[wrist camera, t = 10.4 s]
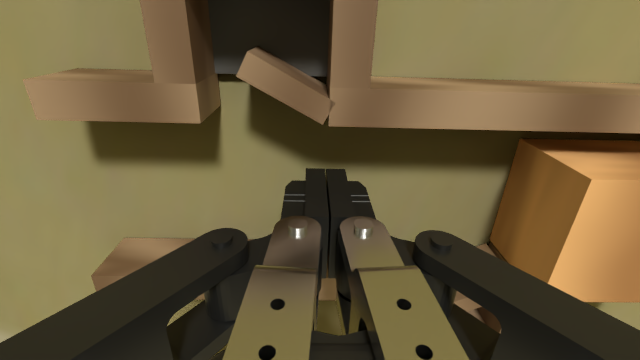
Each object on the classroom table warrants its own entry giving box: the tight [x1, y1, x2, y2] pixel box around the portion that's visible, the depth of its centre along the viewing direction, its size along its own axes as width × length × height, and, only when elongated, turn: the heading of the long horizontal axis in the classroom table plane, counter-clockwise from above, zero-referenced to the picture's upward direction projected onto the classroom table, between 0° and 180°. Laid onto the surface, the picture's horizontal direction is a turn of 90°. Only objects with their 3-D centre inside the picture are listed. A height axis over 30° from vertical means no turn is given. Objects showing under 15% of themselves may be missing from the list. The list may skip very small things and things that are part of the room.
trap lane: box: [23, 0, 640, 333], centre depth 12 cm, size 24×16×4 cm, turn 88°
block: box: [490, 139, 640, 302], centre depth 13 cm, size 6×5×4 cm
